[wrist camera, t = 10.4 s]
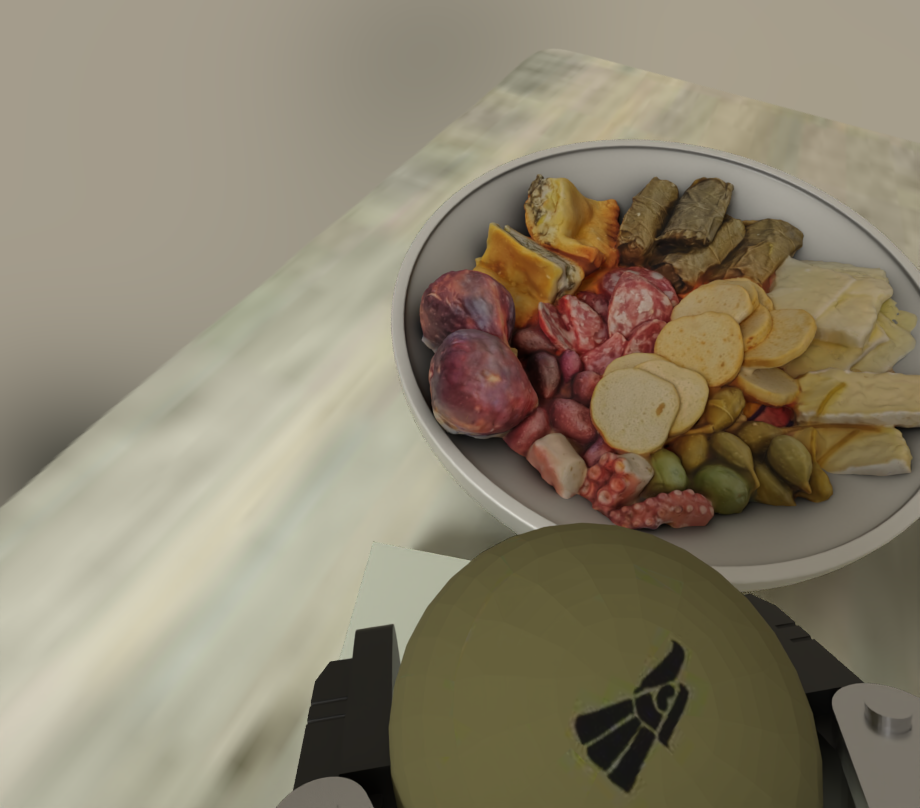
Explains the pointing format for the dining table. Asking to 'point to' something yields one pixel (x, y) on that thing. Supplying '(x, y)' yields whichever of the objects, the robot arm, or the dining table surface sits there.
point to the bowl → (668, 356)
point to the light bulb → (598, 685)
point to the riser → (398, 590)
